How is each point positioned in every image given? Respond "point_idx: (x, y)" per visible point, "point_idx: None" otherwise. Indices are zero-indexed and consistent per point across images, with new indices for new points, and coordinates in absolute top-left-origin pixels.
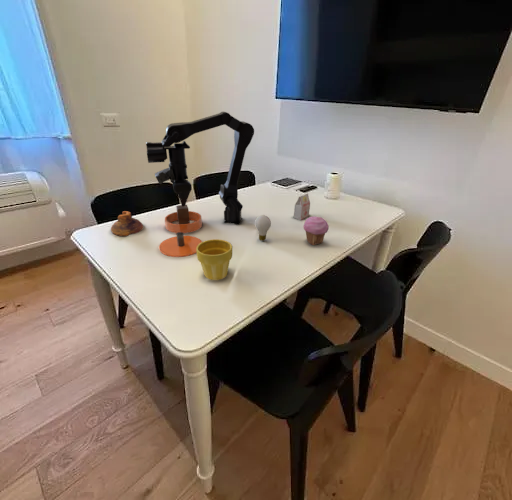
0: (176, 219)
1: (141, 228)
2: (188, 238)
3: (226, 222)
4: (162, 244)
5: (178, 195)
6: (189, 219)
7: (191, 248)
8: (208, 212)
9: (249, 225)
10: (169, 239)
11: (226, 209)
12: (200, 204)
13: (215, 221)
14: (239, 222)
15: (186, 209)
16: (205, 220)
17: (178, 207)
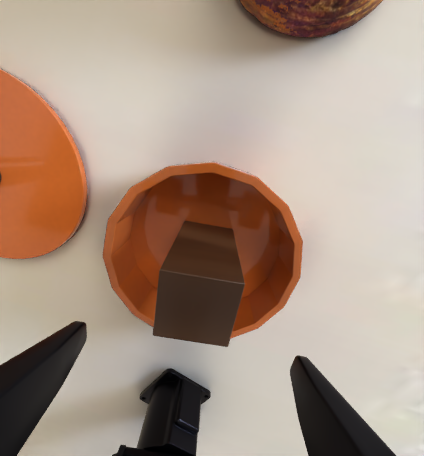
0: (280, 236)
1: (253, 6)
2: (47, 221)
3: (163, 375)
4: (1, 85)
5: (310, 384)
6: (258, 284)
7: None
8: None
9: (127, 410)
10: (53, 137)
11: (165, 438)
12: (396, 365)
13: (201, 351)
14: (147, 402)
15: (155, 318)
16: None
17: (195, 287)
